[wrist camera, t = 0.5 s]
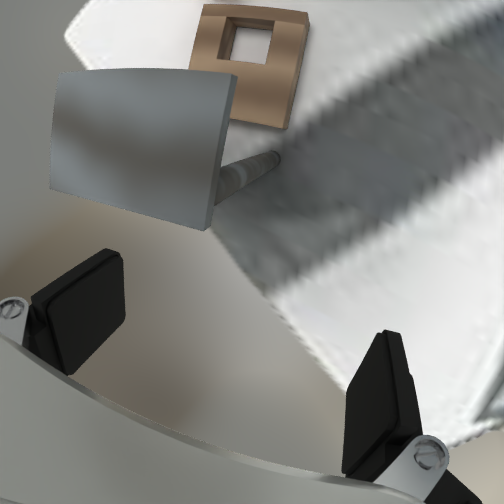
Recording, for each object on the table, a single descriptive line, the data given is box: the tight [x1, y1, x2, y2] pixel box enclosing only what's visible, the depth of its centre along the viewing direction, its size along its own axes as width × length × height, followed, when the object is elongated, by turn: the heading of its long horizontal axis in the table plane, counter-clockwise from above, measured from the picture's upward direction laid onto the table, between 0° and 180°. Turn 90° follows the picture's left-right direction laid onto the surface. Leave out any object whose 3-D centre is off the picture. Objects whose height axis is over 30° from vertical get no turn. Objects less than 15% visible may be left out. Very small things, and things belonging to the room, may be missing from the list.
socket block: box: [50, 4, 310, 231], centre depth 23 cm, size 20×12×23 cm, turn 168°
